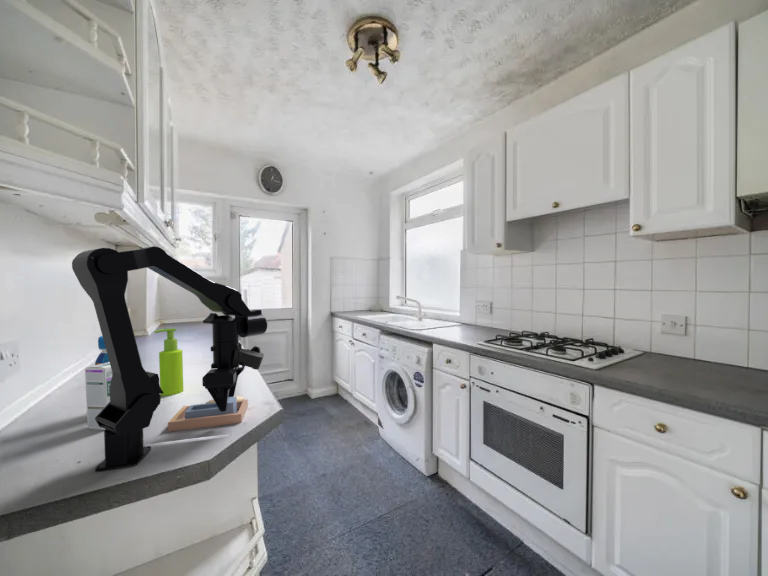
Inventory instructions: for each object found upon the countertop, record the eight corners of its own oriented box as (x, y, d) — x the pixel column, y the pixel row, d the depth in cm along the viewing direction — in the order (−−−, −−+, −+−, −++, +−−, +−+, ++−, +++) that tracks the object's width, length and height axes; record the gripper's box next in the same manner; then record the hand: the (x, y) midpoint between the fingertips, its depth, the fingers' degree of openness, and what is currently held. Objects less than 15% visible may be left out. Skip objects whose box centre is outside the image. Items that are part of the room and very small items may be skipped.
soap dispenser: (154, 395, 98) (152, 329, 98) (181, 389, 102) (179, 326, 102) (157, 400, 93) (155, 330, 93) (185, 394, 98) (183, 328, 98)
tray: (241, 424, 75) (241, 414, 75) (168, 433, 71) (168, 422, 71) (248, 409, 85) (247, 399, 85) (183, 416, 81) (183, 406, 81)
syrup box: (106, 430, 74) (104, 367, 73) (86, 429, 75) (84, 366, 75) (131, 420, 79) (129, 361, 79) (111, 418, 80) (109, 360, 80)
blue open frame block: (185, 425, 74) (184, 407, 74) (191, 417, 79) (190, 401, 79) (233, 419, 77) (233, 402, 77) (236, 412, 82) (236, 396, 82)
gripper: (256, 344, 72) (258, 414, 72) (264, 333, 90) (266, 389, 90) (200, 348, 69) (202, 421, 69) (220, 335, 87) (222, 393, 87)
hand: (227, 404), depth 79 cm, fingers open, 9 cm apart
